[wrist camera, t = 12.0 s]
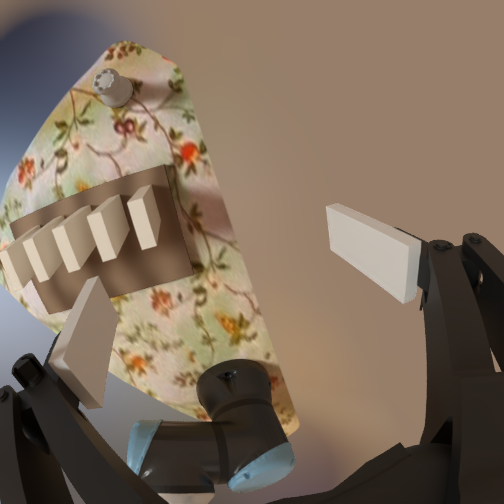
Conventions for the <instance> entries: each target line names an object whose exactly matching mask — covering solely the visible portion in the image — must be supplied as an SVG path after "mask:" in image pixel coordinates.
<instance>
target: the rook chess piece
mask: <svg viewBox="0 0 504 504" xmlns="http://www.w3.org/2000/svg"><path fill="white" fill-rule="evenodd" d="M92 86H93V90H94V91H95V93H97V94H99V95H101V100H102V101H103V102H104V104H105V105H107V106H109V107H114V108H117V107H120V106H123V105H124V104H125V103H127V102H128V101H129V99H130V98H131V96H132V92H133V87H132V83H131V82H130V81H129V80H128V79H127V78H125V77H123V76H119V74H118V72H117V71H116V70H114V69H104V70H101V71H100V72H99V73H98V74H96V75H95V77H94V79H93V83H92Z"/></svg>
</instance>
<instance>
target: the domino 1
mask: <svg viewBox="0 0 504 504" xmlns="http://www.w3.org/2000/svg"><path fill="white" fill-rule="evenodd" d="M40 228H41V227H40V225H38V226H35V227H33V228H31V229H30V230H28V231H27V232H26V233H24V234H23V235H22V236H20V237H19V238H18V239H16V240H15V241H14V242H12V243H11V244H10V245H8V246H7V247H6V248H4V249H3V250H2V251H1V252H0V259H1V261H2V264H3V266H4V269H5V271H6V273H7V275H8V278H9V280H10V282H11V284H12V286H13V288H14V290H15V291H17V290H20V289H23V288H24V287H25V286H26V284H27V283H28V282H29V281H30V280H31V278H32V277H33V276H34V275H35V272H34V269H33V267H32V265H31V262H30V260H29V258H28V255H27V253H26V250H25V248H24V245H23V241H25V240H26V239H27V238H29V237H30V236H31V235H32V234H34V233H35V232H36V231H38V230H39V229H40Z"/></svg>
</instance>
